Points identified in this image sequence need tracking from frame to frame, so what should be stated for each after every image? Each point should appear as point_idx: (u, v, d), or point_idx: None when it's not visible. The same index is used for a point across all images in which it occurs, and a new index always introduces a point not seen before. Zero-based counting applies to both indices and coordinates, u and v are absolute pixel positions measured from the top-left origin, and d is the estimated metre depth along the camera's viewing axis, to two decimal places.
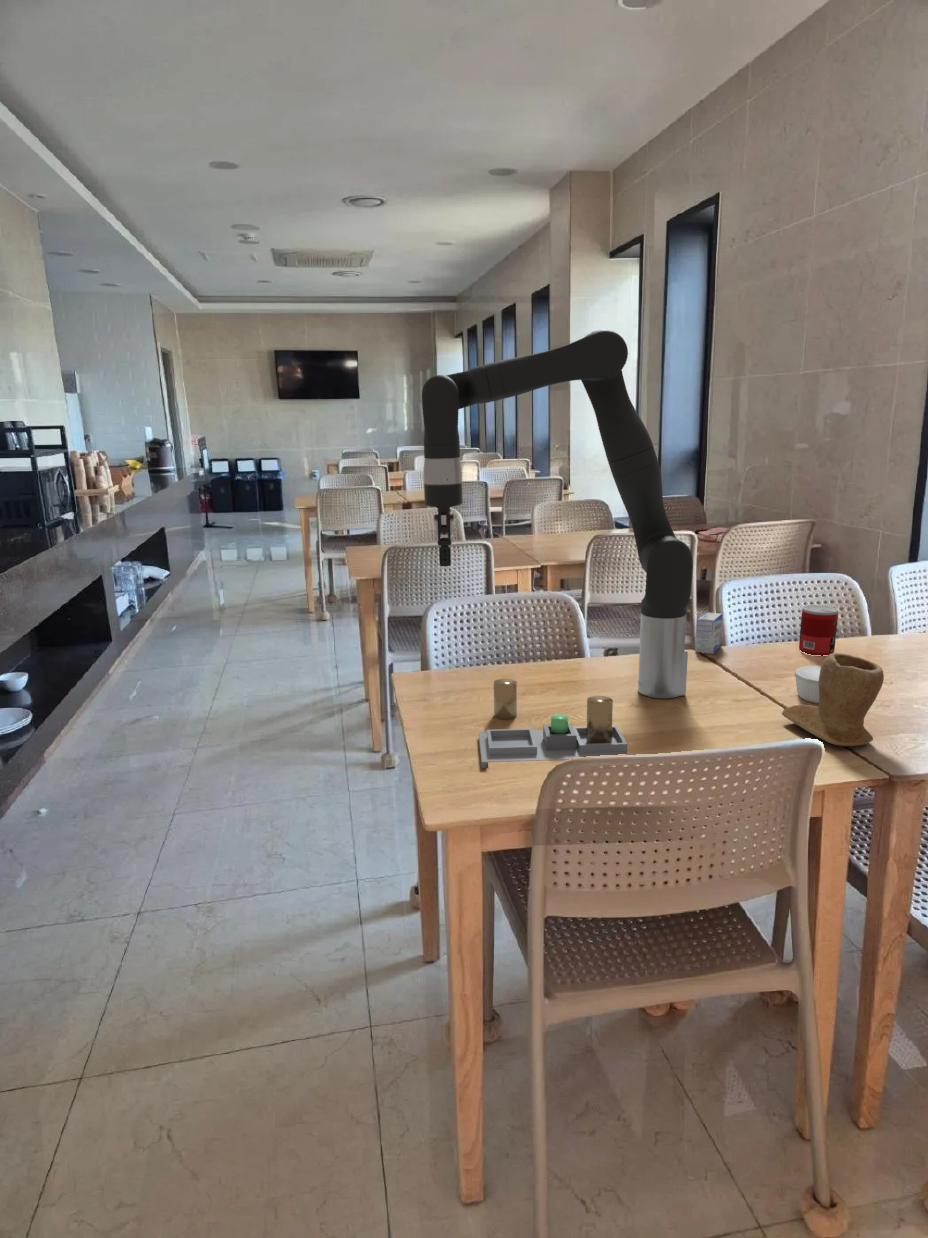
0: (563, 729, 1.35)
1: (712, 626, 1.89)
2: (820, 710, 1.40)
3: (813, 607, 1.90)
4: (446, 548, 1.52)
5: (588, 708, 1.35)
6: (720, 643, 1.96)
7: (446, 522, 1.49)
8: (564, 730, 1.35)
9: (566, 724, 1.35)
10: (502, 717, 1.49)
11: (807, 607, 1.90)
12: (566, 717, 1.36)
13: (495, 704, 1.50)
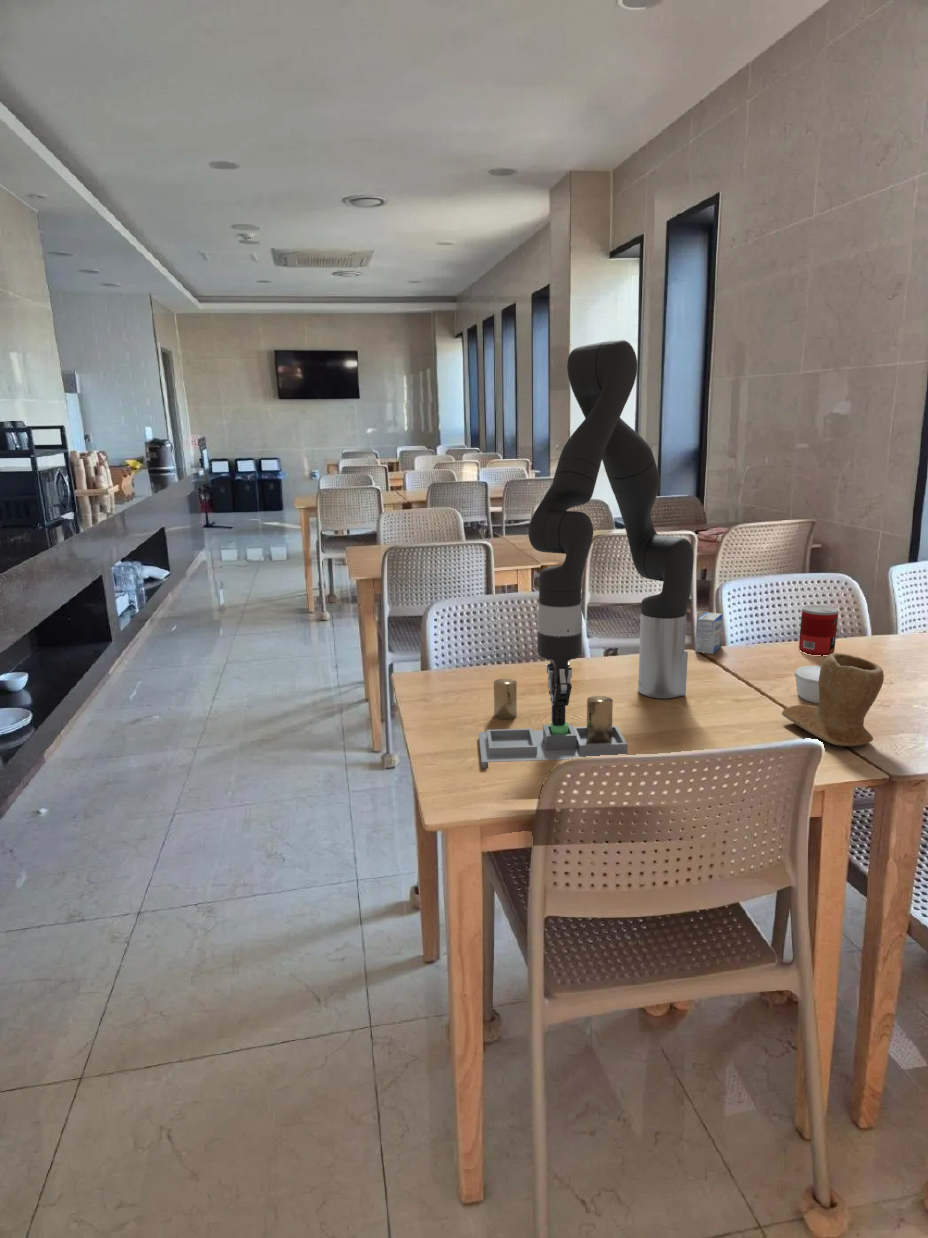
0: None
1: (712, 626, 1.89)
2: (820, 710, 1.40)
3: (813, 607, 1.90)
4: (561, 707, 1.34)
5: (588, 708, 1.35)
6: (720, 643, 1.96)
7: (566, 693, 1.29)
8: None
9: (566, 731, 1.36)
10: (502, 717, 1.49)
11: (807, 607, 1.90)
12: (566, 724, 1.36)
13: (495, 704, 1.50)
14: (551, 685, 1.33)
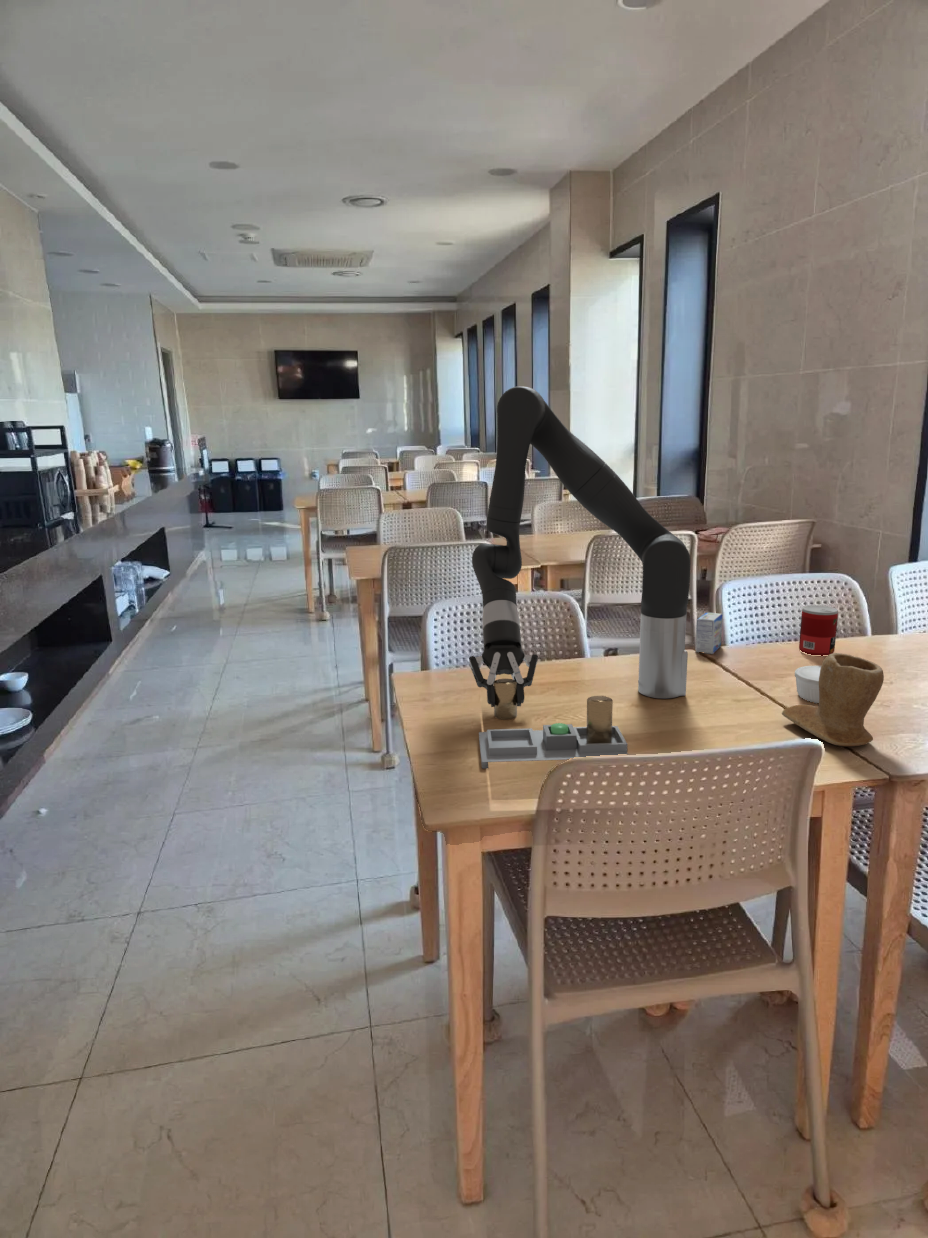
0: None
1: (712, 626, 1.89)
2: (820, 710, 1.40)
3: (813, 607, 1.90)
4: (486, 687, 1.50)
5: (588, 708, 1.35)
6: (720, 643, 1.96)
7: (471, 665, 1.53)
8: None
9: (566, 733, 1.36)
10: (502, 717, 1.49)
11: (807, 607, 1.90)
12: (566, 726, 1.37)
13: (495, 704, 1.50)
14: None
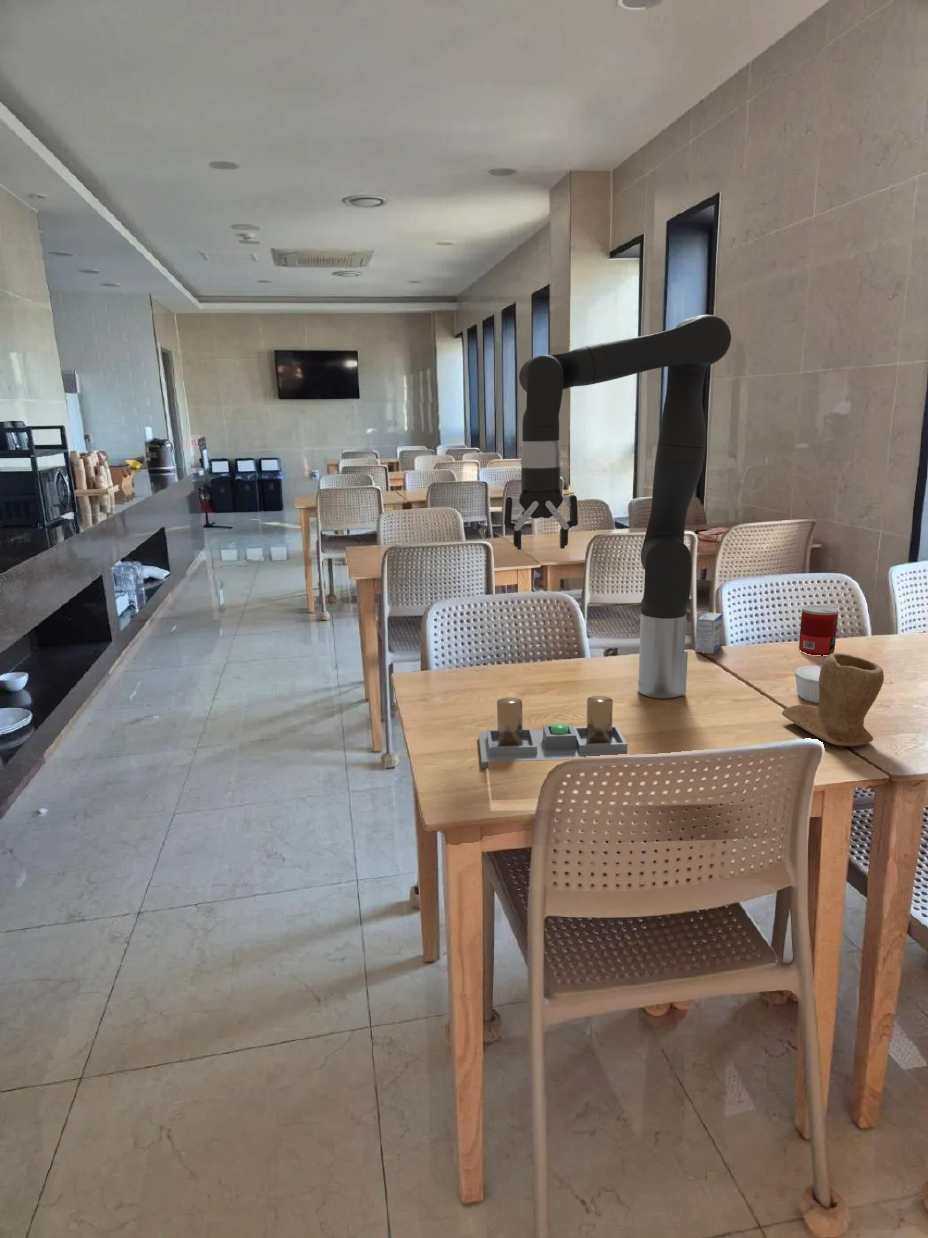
0: None
1: (712, 626, 1.89)
2: (820, 710, 1.40)
3: (813, 607, 1.90)
4: (513, 531, 1.52)
5: (588, 708, 1.35)
6: (720, 643, 1.96)
7: (505, 504, 1.51)
8: None
9: (566, 733, 1.36)
10: (507, 740, 1.35)
11: (807, 607, 1.90)
12: (566, 726, 1.37)
13: (499, 726, 1.36)
14: None
